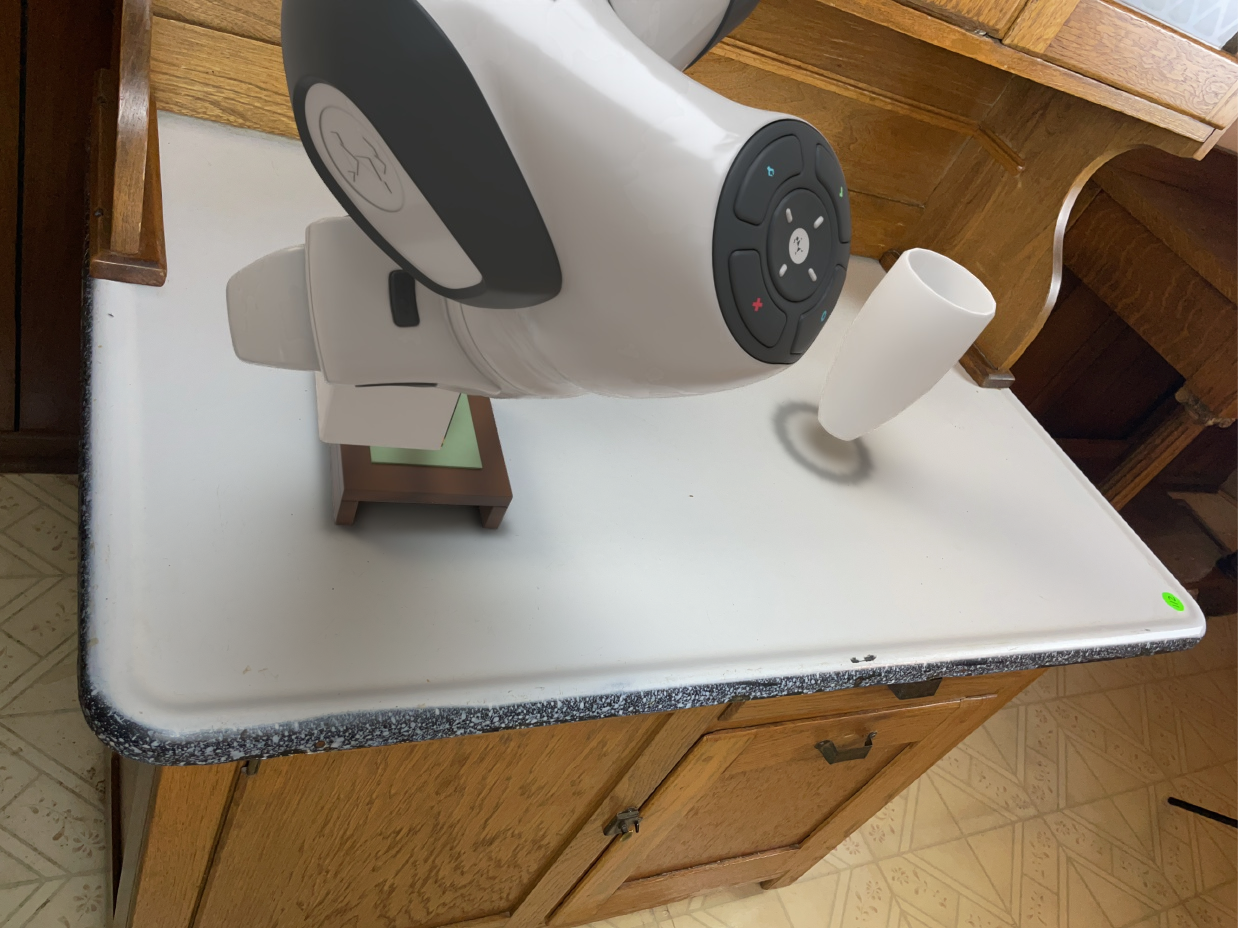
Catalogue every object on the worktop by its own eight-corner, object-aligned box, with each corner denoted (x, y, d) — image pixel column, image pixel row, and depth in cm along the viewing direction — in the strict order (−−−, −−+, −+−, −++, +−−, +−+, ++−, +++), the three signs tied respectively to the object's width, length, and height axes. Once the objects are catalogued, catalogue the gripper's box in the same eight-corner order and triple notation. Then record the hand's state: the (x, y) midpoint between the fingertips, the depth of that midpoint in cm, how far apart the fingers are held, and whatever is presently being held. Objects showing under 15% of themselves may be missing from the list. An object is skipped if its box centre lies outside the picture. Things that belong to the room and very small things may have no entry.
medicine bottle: (441, 453, 52) (497, 298, 44) (318, 445, 49) (354, 276, 41) (427, 372, 56) (475, 218, 48) (313, 360, 53) (345, 192, 45)
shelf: (334, 525, 60) (348, 469, 56) (323, 377, 69) (335, 320, 65) (498, 529, 65) (521, 479, 61) (468, 392, 74) (487, 340, 70)
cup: (794, 473, 85) (927, 304, 70) (767, 400, 91) (883, 232, 77) (878, 487, 88) (1021, 330, 74) (846, 417, 95) (971, 260, 81)
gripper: (692, 229, 43) (545, 264, 54) (271, 215, 31) (193, 264, 42) (700, 355, 44) (554, 364, 55) (293, 390, 32) (210, 392, 43)
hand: (394, 321), depth 48 cm, fingers closed on medicine bottle, 8 cm apart
